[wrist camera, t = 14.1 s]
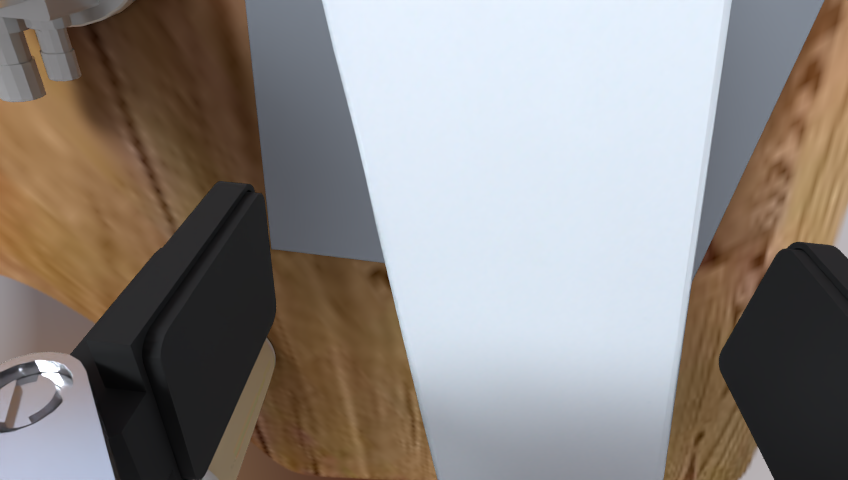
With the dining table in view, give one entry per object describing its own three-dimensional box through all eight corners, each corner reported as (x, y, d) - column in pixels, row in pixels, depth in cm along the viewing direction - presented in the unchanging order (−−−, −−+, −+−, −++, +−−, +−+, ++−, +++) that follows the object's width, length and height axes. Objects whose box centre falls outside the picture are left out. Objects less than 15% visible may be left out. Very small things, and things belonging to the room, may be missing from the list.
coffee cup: (157, 366, 41) (53, 519, 32) (172, 283, 36) (53, 434, 26) (271, 405, 43) (206, 563, 33) (301, 330, 38) (234, 491, 28)
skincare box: (571, 263, 27) (649, 619, 14) (466, 270, 28) (446, 610, 15) (567, -307, 16) (965, -1241, 3) (388, -264, 17) (24, -790, 4)
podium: (662, 255, 31) (683, 299, 28) (293, 210, 32) (271, 248, 29) (872, -251, 19) (955, -279, 15) (256, -301, 19) (209, -338, 16)
